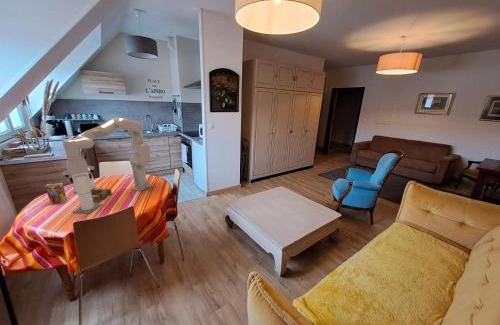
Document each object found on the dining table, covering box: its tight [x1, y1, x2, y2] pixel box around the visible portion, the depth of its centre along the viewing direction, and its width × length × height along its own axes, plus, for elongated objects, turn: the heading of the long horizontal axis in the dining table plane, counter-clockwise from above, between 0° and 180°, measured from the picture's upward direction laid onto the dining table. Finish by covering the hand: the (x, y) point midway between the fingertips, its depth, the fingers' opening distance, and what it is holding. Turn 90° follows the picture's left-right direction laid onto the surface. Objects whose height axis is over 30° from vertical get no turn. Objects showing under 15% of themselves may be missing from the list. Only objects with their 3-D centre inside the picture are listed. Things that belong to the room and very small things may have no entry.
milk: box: [72, 168, 97, 194], centre depth 168 cm, size 12×12×26 cm
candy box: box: [44, 182, 68, 205], centre depth 149 cm, size 9×4×15 cm, turn 107°
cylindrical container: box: [74, 174, 95, 210], centre depth 140 cm, size 7×7×25 cm
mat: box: [72, 203, 103, 215], centre depth 144 cm, size 12×12×1 cm
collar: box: [91, 187, 113, 204], centre depth 159 cm, size 15×15×5 cm
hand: (81, 180), depth 138 cm, fingers open, 9 cm apart
